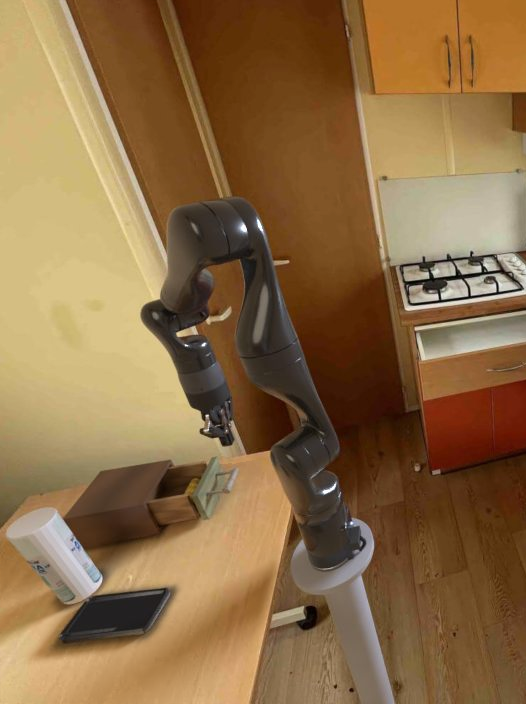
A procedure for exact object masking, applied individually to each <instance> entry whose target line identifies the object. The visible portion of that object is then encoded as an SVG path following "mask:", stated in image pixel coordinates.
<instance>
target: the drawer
mask: <svg viewBox="0 0 526 704" xmlns="http://www.w3.org/2000/svg"><path fill="white" fill-rule="evenodd" d="M239 472H240V469H239V467H233V468H232V469H230V470H225V471H224V469H223V467H222V465H221V462H220V460H219V458H218V456H212V457H210V460H209V461H208V464H207V461H206V460H203V461H196V462H190V463H184V464H179V465H174V466H172V467H169V468H168V469H167V471H166V473H165V474H164V476H163V477H162V479H161V481H160V482H159V484H158V486H157V487H156V489H155V490H154V492H153V494H152V495H151V497H150V499H149V500H148V502H147V504H146V505H147V507H148V508H149V510H150V512H151V514H152V515H153V517H154V519H155V521H156V523H157V524H158V526H159V525H164V524H165V525H168V524H169V525H170V524H174V523H179V522H184V521H189V520H195V519H198V518H199V516H200V517H201V519H202V520H203V521H207V520H210V517H211V515H212V513H213V511H214V508H215V507H216V504H217V501H218V499H219V497H220V495H221V494H225V495H227V494H230V493H231V491H232V488H233V486H234V483H235V481H236V479H237V476H238V473H239ZM226 475H229V477H228V479H227V476H226ZM195 478H199V479H201V480H200V482H199V484H198V486H197V487H196V489H195V491H194V493H193V495H192V499H193V501H194V503H192V501H191V499H190V497H189V495H188V494H184V493H185V491H186V489H187V487H188V486H189V484H190V482H191V480H193V479H195ZM225 483H226V484H225ZM224 485H225V486H224ZM165 525H164V526H165Z"/></svg>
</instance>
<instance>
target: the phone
mask: <svg viewBox="0 0 526 704" xmlns="http://www.w3.org/2000/svg"><path fill="white" fill-rule="evenodd" d="M170 596H171V591H170V590H169V588H167V587H161V588H152V589H144V590H143V589H141V590H134V591H133V590H131V591H125V592H114V593H105V594H96V595H91V596H89V597H87V598H86V599H85V601H84V602H83V603H82V605H81V606H80V607H79V609H78V610H77V611H76V613H75V614H74V615H73V617H72V618H71V619H70V620H69V622H68V623H67V624H66V626H65V627H64V629H63V630H62V631H61V632H60V634H59V635H58V640H59V641H60V643H62V644H70V643H79V642H88V641H97V640H105V639H112V638H113V639H114V638H121V637H130V636H131V637H132V636H138V635H144V634H146V633H147V632H149V630H150V629H151V628H152V627H153V626H154V624H155V622H156V620H157V619H158V617H159V615H160V614H161V612H162V610H163V609H164V607H165V605H167V603H168V600H169V598H170Z"/></svg>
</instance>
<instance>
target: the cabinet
mask: <svg viewBox="0 0 526 704" xmlns="http://www.w3.org/2000/svg"><path fill="white" fill-rule="evenodd" d="M172 466H175V465H174V463H173V461H172V459H165V460H160V461H153V462H147V463H142V464H141V463H140V464H135V465H128V466H123V467H117V468H110V469H104V470H100V471H99V472H98V474H97V475H96V476H95V477H94V479H92V481H91V483H89V485H88V486H87V487H86V488H85V490H84V491H83V493H82V494H81V495H80V496H79V497H78V499H77V500H76V501H75V503H74V504H73V505H72V506H71V507H70V508H69V510H68V511H67V513H66V514H65V515H64V516H63V517H62V519H63V520H64V522H65V523H66V524H67V526H68V527H69V529H70V530H71V532H72V533H73V535H74V536H75V537H76V539H77V540H78V542H79V543H80V545H81V546H82V547H83V549H84V550H85V549H89V548H94V547H100V546H105V545H109V544H113V543H119V542H125V541H129V540H135V539H140V538H145V537H150V536H155V535H160V534H161V533H162V530H163V528H164V526H166V524H164V525H159V526H158V524H157V523H156V521H155V519H154V517H153V515H152V514H151V512H150V510H149V508H148V507H147V505H146V504H147V502H148V500H149V499H150V497H151V495H152V494H153V492H154V490H155V489H156V487H157V486H158V484H159V482H160V481H161V479H162V477H163V476H164V474H165V473H166V471H167V469H168V468H169V467H172Z"/></svg>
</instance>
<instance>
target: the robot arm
mask: <svg viewBox="0 0 526 704" xmlns="http://www.w3.org/2000/svg"><path fill="white" fill-rule="evenodd" d="M237 260H238V261H239V264H240V268H241V272H242V277H243V296H242V297H243V298H242V302H241V307H240V310H239V313H238V318H237V321H236V325H235V331H234V348H235V352H236V354H237V356H238V359H239V361H240V363H241V366H242V368H243V370H244V372H245V376H246V377H247V379H248V380H249V382H251V384H253V386H255V387H257V388H258V389H259V390H261V391H263V392H265V393H266V394H268V395H270V396H272V397H275V398H276V399H278V400H280V401H282V402H284V403H286V404H287V405H288V406H290V407H291V408H293V409H294V412H296V414H297V416H298V418H299V421H300V426H299V427H298V428H296V429H294V430H293V431H292V432H290V433H289V434H287V435H286V436H285V437H283V438H281V439H280V440H278V441H277V442H276V443H274V444H273V445H272V446H271V448H270V451H269V457H270V458H269V459H270V462H271V465H272V467H273V469H274V471H275V474H276V476H277V478H278V481H279V483H280V485H281V488H282V491H283V492H284V495H285V496H286V499H287V500H288V502H289V504H290V507H291V509H292V512H293V515H294V518H295V522H296V524H297V527H298V530H299V532H300V536H301V540H302V539H303V542H304V545H305V548H306V551H307V553H308V557H309V561H310V564H311V566H312V567H313V568H314V569H316V570H318V571H321V572H327V571H332V570H335V569H337V568H339V567H341V566H342V565H344V564H345V563H346V562H347V561H348V560H351V559H353V558H354V552H355V550H359V551H360V552H361V551H362V550H363V549H364V547H365V546H366V539H365V538H364V537H362V536H361V529H360V526H355V527H354V525H353V521H352V518H353V517H352V514H351V510H350V507H349V506H348V505H346V502H345V499H344V495H343V490H342V487H341V483H340V480H339V477H338V476H337V475H336V474H335V473H334V472H332V471H330V470H326V468H327V467H329V465H331V464H332V463H333V462H334V461H335V460H336V459H337V458H338V457H339V455H340V452H341V445H340V441H339V437H338V434H337V433H336V430H335V428H334V426H333V424H332V422H331V419H330V417H329V415H328V414H327V411H326V409H325V408H324V404H323V403H322V400H321V398H320V395H319V394H318V391H317V389H316V386H315V384H314V380H313V378H312V375H311V372H310V369H309V367H308V365H307V361H306V357H305V354H304V351H303V348H302V345H301V342H300V340H299V337H298V334H297V331H296V329H295V326H294V324H293V322H292V321H293V320H292V318H291V317H290V313H289V310H288V307H287V305H286V302H285V299H284V297H283V293H282V290H281V286H280V283H279V282H280V281H279V279H278V274H277V271H276V266H275V263H274V258H273V255H272V251H271V246H270V243H269V239H268V236H267V233H266V230H265V226H264V224H263V221H262V219H261V216H260V214H259V213H258V211H257V210H256V208H255V206H254V205H253V204H252V203H251V202H250V201H249V200H248V199H246V198H245V197H242V196H239V195H230V196H224V197H218V198H212V199H206V200H205V199H204V200H200V201H194V202H188V203H184V204H181V205H178V206H176V207H174V208H173V209H172V210H171V211H170V213H169V214H168V218H167V221H166V265H167V270H166V276H165V278H164V280H163V283H162V286H161V289H160V291H159V298H157V299H154V300H151V301H148V302H147V303H145V304H143V306H141V309H140V313H139V316H140V321H141V322H142V324H143V326H144V327H145V328H146V329H147V330H148V331H149V332H150V333H151V334H152V335H153V336H154V337H155V338H156V339H157V340H158V341H159V342H160V344H161V345H162V346H163V348H164V349H165V350H166V352H167V353H168V355H169V357H170V359H171V362H172V363H173V366H174V368H175V371H176V373H177V378H178V381H179V384H180V386H181V388H182V390H183V393H184V396H185V398H186V400H187V403H188V405H189V406H190V408H192V409H193V410H196V411H198V412H200V417H201V420H202V421H203V422H204V423H203V424H204V425H203V427H200V428H199V432H198V433H199V434H200V435H202V436H204V437H207V438H209V439H218V441H219V442H220V445H221V447H225V448H226V447H230V446H233V444H234V442H235V435H234V434H233V431H232V422H233V421H234V410H233V409H234V408H233V406H234V405H233V396H232V394H231V389H230V386H229V385H228V382H227V379H226V376H225V374H224V371H223V368H222V366H221V363H220V362H219V361H218V359H217V357H216V354H215V351H214V348H213V345H212V343H211V341H210V339H209V338H208V337H207V335H204V334H189V335H184V336H183V335H182V336H178V333H179V332H182V331H184V330H187V329H190V328H193V327H196V326H198V325H200V324H203V323H204V322H206V321H207V320H208V319H209V318H210V315H211V310H210V308H209V300H210V298H211V297H212V295H213V293H214V291H215V286H216V282H215V281H216V280H215V277H214V275H213V273H212V270H210V269H209V268H208V267H212V266H213V267H214V266H221V265H223V264H227V263H232V262H234V261H237ZM361 541H362V542H363V544H362V546H361V547H360V545H361Z"/></svg>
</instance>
